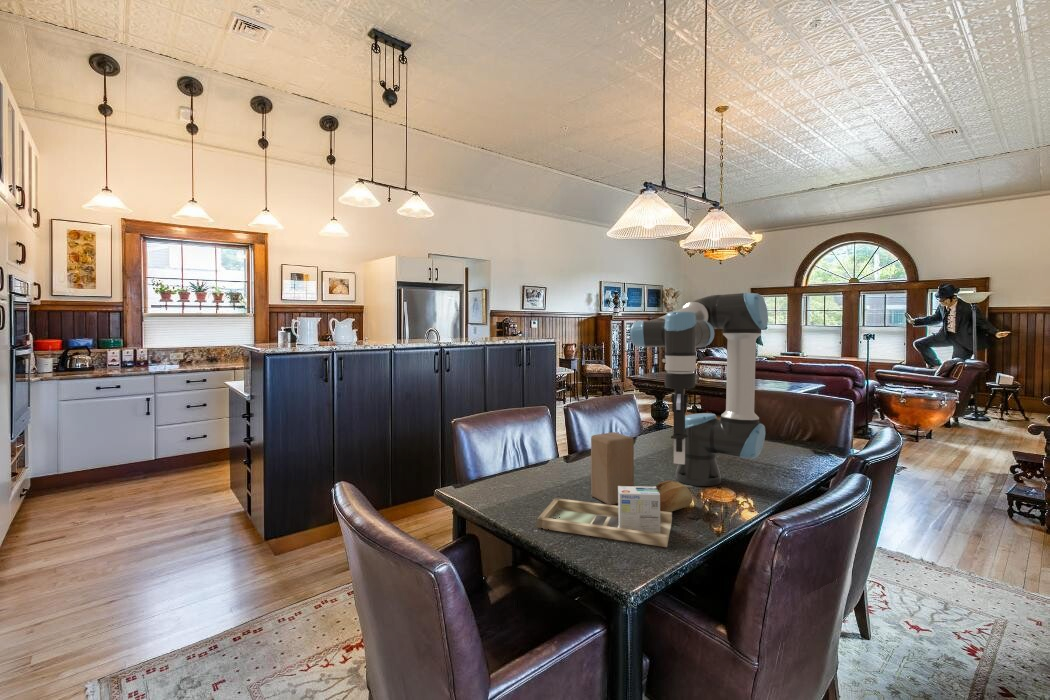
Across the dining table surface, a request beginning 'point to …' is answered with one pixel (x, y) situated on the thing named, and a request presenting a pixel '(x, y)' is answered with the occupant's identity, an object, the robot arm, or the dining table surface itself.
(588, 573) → the dining table surface
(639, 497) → the light bulb box
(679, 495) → the bread roll
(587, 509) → the birch trough
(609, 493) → the block
